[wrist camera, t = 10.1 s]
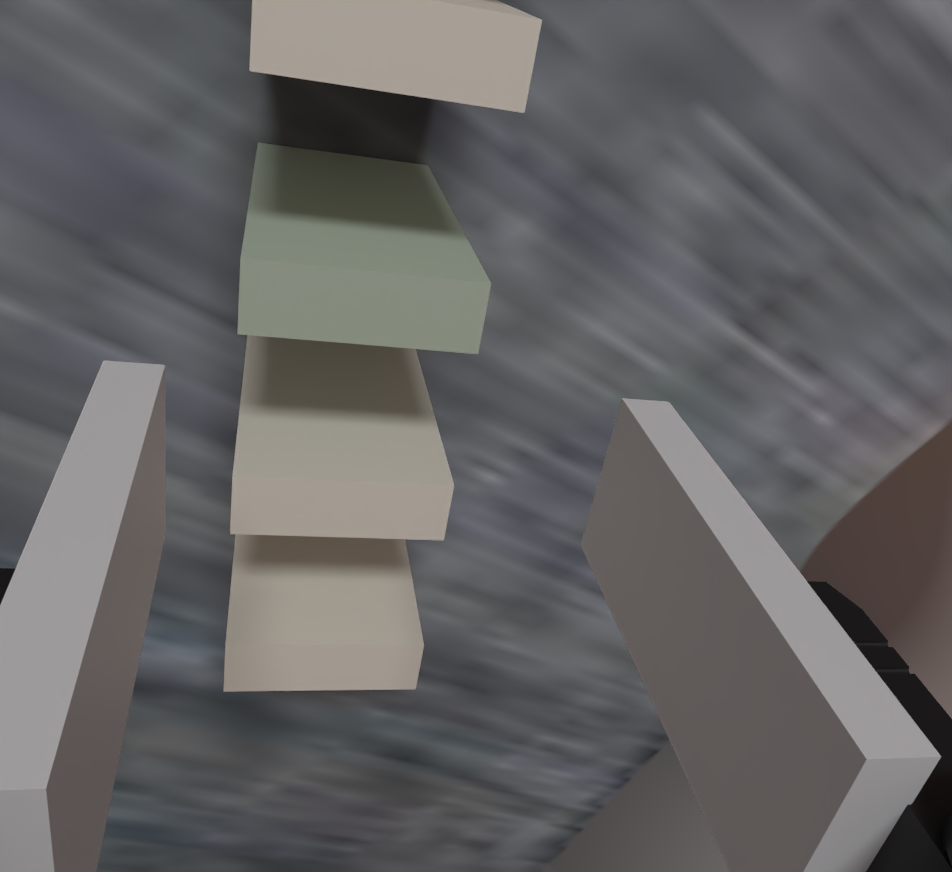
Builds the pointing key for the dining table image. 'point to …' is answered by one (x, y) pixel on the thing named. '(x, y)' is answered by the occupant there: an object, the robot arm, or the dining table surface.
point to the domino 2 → (356, 255)
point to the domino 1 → (401, 47)
